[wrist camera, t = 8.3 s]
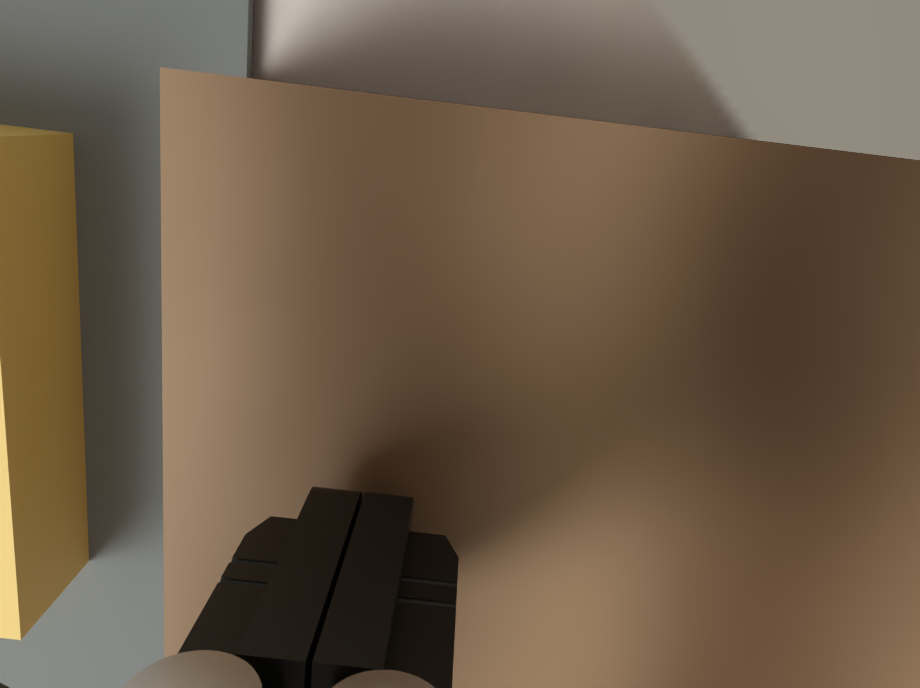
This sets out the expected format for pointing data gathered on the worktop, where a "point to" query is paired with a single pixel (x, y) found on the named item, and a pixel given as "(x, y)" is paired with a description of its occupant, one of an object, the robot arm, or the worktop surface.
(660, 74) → the worktop surface
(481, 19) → the worktop surface
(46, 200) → the yellow rectangular block
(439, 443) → the brown flat block
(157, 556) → the mat
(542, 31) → the worktop surface
